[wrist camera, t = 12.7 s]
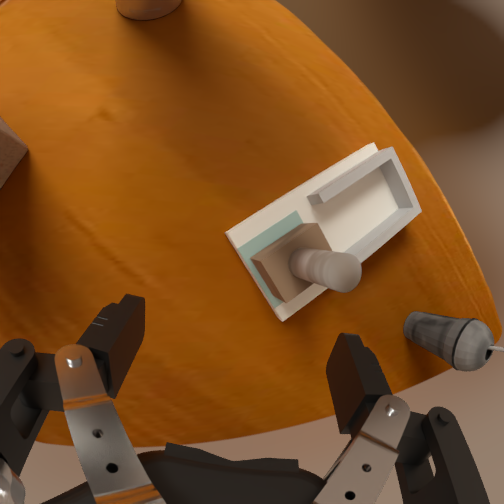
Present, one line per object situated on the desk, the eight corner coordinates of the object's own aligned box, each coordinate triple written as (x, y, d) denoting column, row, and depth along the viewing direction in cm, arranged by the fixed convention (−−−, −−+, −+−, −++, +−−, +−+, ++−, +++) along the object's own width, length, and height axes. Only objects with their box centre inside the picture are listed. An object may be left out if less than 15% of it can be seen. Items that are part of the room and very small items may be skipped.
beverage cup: (390, 341, 42) (494, 388, 23) (408, 296, 42) (519, 325, 23) (416, 350, 44) (511, 392, 24) (433, 310, 44) (532, 338, 25)
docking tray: (367, 144, 38) (387, 137, 34) (403, 220, 41) (425, 219, 37) (224, 232, 34) (232, 232, 30) (278, 318, 37) (292, 329, 32)
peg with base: (301, 223, 34) (364, 220, 23) (321, 260, 35) (387, 273, 24) (249, 258, 33) (294, 272, 22) (273, 295, 34) (325, 326, 23)
